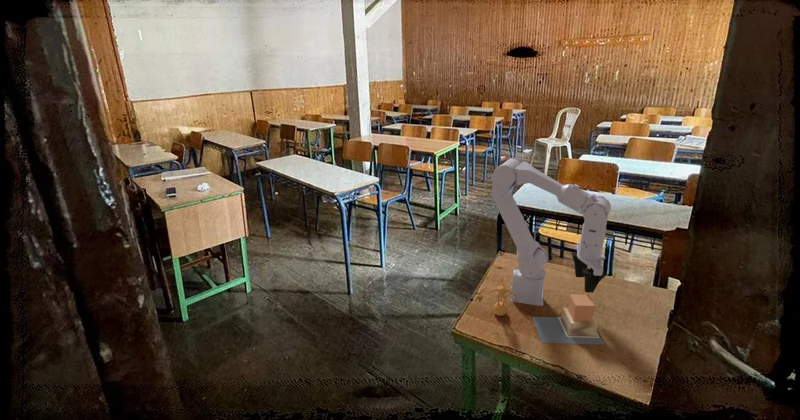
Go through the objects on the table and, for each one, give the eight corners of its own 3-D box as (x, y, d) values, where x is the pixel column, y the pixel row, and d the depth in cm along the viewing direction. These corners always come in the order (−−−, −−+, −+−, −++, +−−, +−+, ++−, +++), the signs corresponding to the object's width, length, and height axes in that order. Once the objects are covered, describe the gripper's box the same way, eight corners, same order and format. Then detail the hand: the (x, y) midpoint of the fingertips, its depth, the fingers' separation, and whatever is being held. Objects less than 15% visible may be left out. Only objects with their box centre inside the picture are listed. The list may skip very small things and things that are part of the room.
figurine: (514, 312, 122) (518, 277, 118) (514, 325, 117) (518, 289, 112) (485, 308, 124) (488, 274, 119) (484, 321, 119) (487, 285, 114)
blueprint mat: (541, 344, 110) (542, 342, 109) (531, 317, 120) (532, 316, 119) (604, 345, 109) (604, 344, 108) (588, 318, 119) (589, 317, 119)
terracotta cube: (573, 320, 111) (575, 305, 109) (567, 309, 116) (569, 294, 114) (592, 321, 111) (595, 305, 109) (585, 309, 115) (588, 294, 113)
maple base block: (569, 335, 112) (571, 323, 110) (561, 319, 118) (563, 307, 117) (595, 335, 111) (598, 323, 110) (586, 319, 118) (588, 307, 116)
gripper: (618, 254, 105) (609, 299, 111) (596, 229, 119) (589, 270, 124) (590, 254, 106) (582, 298, 111) (571, 229, 119) (565, 270, 124)
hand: (584, 284), depth 117 cm, fingers open, 7 cm apart
